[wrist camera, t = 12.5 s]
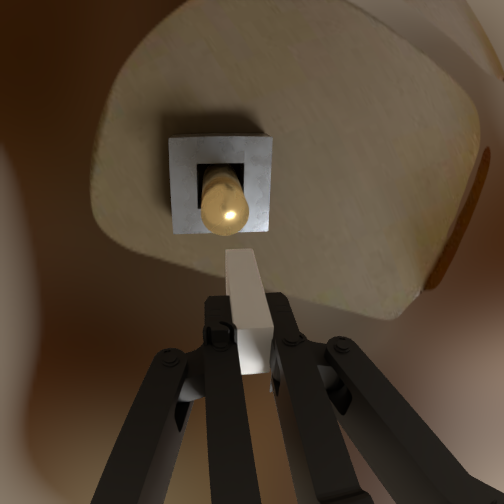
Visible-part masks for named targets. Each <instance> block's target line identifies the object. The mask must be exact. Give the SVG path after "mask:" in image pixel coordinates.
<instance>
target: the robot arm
mask: <svg viewBox="0 0 504 504" xmlns="http://www.w3.org/2000/svg"><path fill="white" fill-rule="evenodd" d="M226 294H227V296H209V297H208V298H207V300H206V301H205V326H204V328H203V340H204V343H203V344H202V345H201V347H199V348H198V349H197V350H194V351H192V352H188V353H184V352H183V351H181V350H179V349H176V348H168V349H163V350H161V351H160V352H158V353H157V354H156V355H155V357H154V359H153V361H152V363H151V365H150V367H149V369H148V371H147V374H146V376H145V378H144V380H143V382H142V384H141V386H140V389H139V391H138V393H137V395H136V397H135V400H134V402H133V404H132V406H131V408H130V411H129V413H128V415H127V417H126V420H125V422H124V424H123V426H122V429H121V431H120V433H119V436H118V438H117V440H116V443H115V445H114V447H113V450H112V452H111V454H110V457H109V459H108V461H107V464H106V466H105V469H104V471H103V473H102V476H101V478H100V481H99V483H98V486H97V488H96V491H95V493H94V496H93V498H92V501H91V503H90V504H163V503H164V500H165V496H166V493H167V490H168V486H169V483H170V479H171V476H172V472H173V469H174V465H175V462H176V459H177V456H178V452H179V449H180V446H181V442H182V439H183V435H184V432H185V429H186V425H187V422H188V419H189V415H190V412H191V408H192V406H193V402H194V400H195V399H199V398H202V397H205V399H206V400H205V401H206V424H207V442H208V443H207V445H208V460H209V476H210V489H211V501H212V504H261V498H260V492H259V487H258V480H257V474H256V468H255V462H254V456H253V450H252V443H251V436H250V430H249V423H248V416H247V410H246V403H245V396H244V389H243V382H242V375H241V374H255V373H267V372H269V369H270V368H271V372H272V375H271V384H270V392H272V390H273V393H274V398H275V402H276V407H277V412H278V416H279V420H280V425H281V430H282V434H283V439H284V443H285V447H286V452H287V457H288V461H289V466H290V470H291V475H292V479H293V484H294V488H295V493H296V497H297V501H298V504H374V502H373V500H372V498H371V496H370V495H369V493H367V492H366V491H364V490H362V489H361V487H360V485H359V482H358V479H357V477H356V474H355V471H354V468H353V465H352V462H351V460H350V456H349V453H348V450H347V448H346V445H345V442H344V439H343V436H342V433H341V430H340V428H339V425H338V422H339V423H340V425H341V426H342V428H343V429H344V430H345V432H346V433H347V435H348V436H349V438H350V439H351V441H352V442H353V443H354V445H355V446H356V448H357V449H358V451H359V452H360V453H361V455H362V456H363V458H364V459H365V460H366V462H367V463H368V465H369V466H370V468H371V469H372V470H373V472H374V473H375V475H376V476H377V477H378V479H379V480H380V481H381V483H382V484H383V486H384V487H385V489H386V490H387V491H388V493H389V494H390V496H391V497H392V498H393V500H394V501H395V502H396V504H504V493H502V492H500V491H499V490H496V489H495V488H493V487H491V486H489V485H487V484H485V483H483V482H482V481H480V480H478V479H476V478H474V477H472V476H471V475H469V474H468V472H467V471H466V470H465V469H464V468H463V467H462V465H461V464H460V463H459V462H458V461H457V459H456V458H455V457H454V456H453V455H452V453H451V452H450V451H449V450H448V449H447V448H446V447H445V445H444V444H443V443H442V442H441V441H440V439H439V438H438V437H437V436H436V435H435V434H434V432H433V431H432V430H431V429H430V428H429V426H428V425H427V424H426V423H425V422H424V421H423V420H422V418H421V417H420V416H419V415H418V414H417V413H416V412H415V410H414V409H413V408H412V407H411V406H410V404H409V403H408V402H407V401H406V400H405V399H404V398H403V396H402V395H401V394H400V393H399V392H398V391H397V390H396V388H395V387H394V386H393V385H392V384H391V383H390V382H389V380H388V379H387V378H386V377H385V376H384V375H383V374H382V372H381V371H380V370H379V369H378V368H377V367H376V366H375V364H374V363H373V362H372V361H371V360H370V359H369V358H368V357H367V356H366V354H365V353H364V352H363V351H362V350H361V349H360V348H359V346H358V345H357V344H356V343H355V342H354V341H352V340H351V339H349V338H347V337H342V336H337V337H333V338H331V339H329V341H328V342H327V344H323V343H316V342H312V341H309V340H307V338H306V337H305V335H304V334H302V333H301V332H300V331H299V329H298V326H297V323H296V321H295V318H294V315H293V312H292V310H291V307H290V304H289V301H288V299H287V297H286V296H284V295H283V294H282V293H281V292H276V293H265V292H264V289H263V285H262V281H261V278H260V274H259V270H258V267H257V263H256V259H255V256H254V252H253V249H226ZM337 420H338V422H337Z"/></svg>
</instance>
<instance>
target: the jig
mask: <svg viewBox="0 0 504 504" xmlns="http://www.w3.org/2000/svg"><path fill="white" fill-rule="evenodd" d="M271 160H272V136H270V135H268V134H261V133H206V134H179V135H172V136H171V137H169V169H170V190H171V207H172V222H173V234H191V233H212V232H211V231H209V230H208V229H207V228H206V227H205V225H204V224H203V222H202V218H201V202H202V198H199V191H198V164H209V163H241V168H240V185H241V188H242V190H243V193H244V196H245V198H246V201H247V203H248V206H249V218H248V221H247V223H246V225H245V226H244V227H243V228H242V229H241V230H240V231H238V232H257V231H268V222H269V202H270V182H271Z"/></svg>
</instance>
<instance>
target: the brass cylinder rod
mask: <svg viewBox="0 0 504 504" xmlns="http://www.w3.org/2000/svg"><path fill="white" fill-rule="evenodd" d="M201 218H202V222H203V224H204V225H205V227H206V228H207V229H208V230H209V231H211V232H212V233H215V234H217V235H223V236H226V235H232V234H235V233H237V232H238V231H240V230H241V229H242V228H243V227H244V226H245V225H246V223H247V221H248V218H249V206H248V203H247V201H246V198H245V196H244V193H243V190H242V188H241V185H240V183H239V180H238V178H237V175H236V172H235V170H234V169H233V167H232V166H231V165H229V164H228V163H213V164H211V165H209V166H208V167H207V168H206V170H205V172H204V175H203V187H202V202H201Z"/></svg>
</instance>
